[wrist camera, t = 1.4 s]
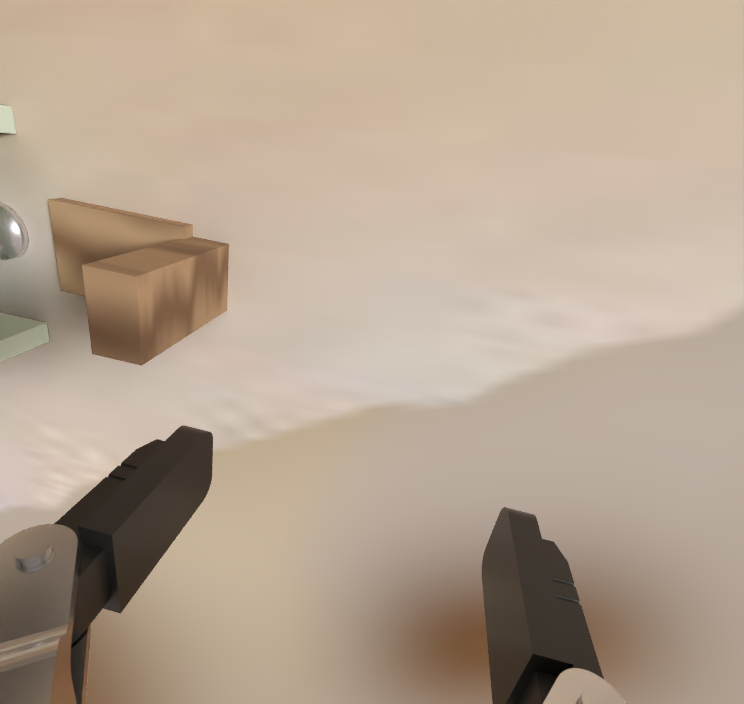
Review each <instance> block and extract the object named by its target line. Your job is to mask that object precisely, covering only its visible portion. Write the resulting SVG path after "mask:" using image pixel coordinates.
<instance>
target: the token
mask: <svg viewBox="0 0 744 704" xmlns="http://www.w3.org/2000/svg"><path fill="white" fill-rule="evenodd" d="M28 243H29V237H28V232H27V229H26V227H25V224H24V223H23V221H22V219H21V218H20V217H19V215H18V214H17V213H16V212H15V211H14V210H13V209H11V208H10V207H9V206H7V205H5V204H3V203H0V259H3V260H6V259H11V258H16V257H19V256H21V255H23V254H24V253H25V252H26V250H27V248H28Z"/></svg>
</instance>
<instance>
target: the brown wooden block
mask: <svg viewBox="0 0 744 704" xmlns="http://www.w3.org/2000/svg"><path fill="white" fill-rule="evenodd" d="M48 203H49V210H50V217H51V224H52V231H53V239H54V246H55V253H56V260H57V267H58V274H59V281H60V288H61V291H65V292H69V293H74V294H78V295H83V296H86V305H87V313H88V322H89V330H90V339H91V348H92V354H95V355H99V356H103V357H108V358H112V359H116V360H121V361H125V362H129V363H133V364H138V365H143V364H145V363H146V362H148V361H149V360H151V359H152V358H154V357H155V356H157V355H158V354H160V353H162V352H163V351H165V350H166V349H168V348H169V347H171V346H172V345H174V344H175V343H177V342H179V341H180V340H182V339H183V338H185V337H186V336H188V335H189V334H191V333H192V332H194V331H196V330H197V329H199V328H200V327H202V326H203V325H205V324H206V323H208V322H209V321H211V320H212V319H214V318H216V317H217V316H219V315H220V314H222V313H223V312H225V311H226V310H227V287H228V250H229V244H225V243H221V242H216V241H211V240H206V239H201V238H196V237H193V225H191V224H186V223H181V222H176V221H171V220H166V219H162V218H157V217H152V216H147V215H142V214H137V213H132V212H127V211H123V210H118V209H113V208H108V207H103V206H98V205H93V204H88V203H83V202H79V201H74V200H69V199H64V198H59V199H48Z"/></svg>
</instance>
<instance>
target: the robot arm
mask: <svg viewBox="0 0 744 704" xmlns="http://www.w3.org/2000/svg"><path fill="white" fill-rule="evenodd" d="M212 456H213V436H212V433H211V432H208V431H204V430H200V429H196V428H192V427H188V426H181V427H179V428H178V429H177V430H176V431H175V432H174V433H173V434H172V435H171V436H170V437H169V438H168V439H167V440H166V441H162V440H158V439H157V440H155V441H153V442H151V443H148V444H146V445H144V446H142V447H140V448H138V449H136V450H135V451H134V452H133V453H132V454H131V455H130V456H129V457H128V458H126V459H125V460H124V461H123V462H122V464H121V466H118V467H116V468H115V469H114V470H113V471H112V472H111V473H110V474H109V476H108V478H107V477H105V478H104V479H103V480H102V481H101V482H100V483H99V484H98V485H97V486H96V487H94V488H93V489H92V490H91V491H90V492H89V493H88V494H87V495H86V496H84V497H83V498H82V499H81V500H80V501H79V502H78V503H77V504H76V505H75V506H73V507H72V508H71V509H70V510H69V511H68V512H67V513H66V514H65V515H64V516H62V517H61V518H60V519H59V520H58V521H57V522H56V523H54V524H46V525H39V526H35V527H31V528H28V529H25V530H23V531H21V532H19V533H16V534H15V535H13V536H11V537H9V538H8V539H6V540H5V541H4V542H2V543H1V544H0V704H86V691H87V678H88V677H87V676H88V664H89V650H90V638H91V623H92V621H93V620H94V619H95V617H96V616H97V615H98V613H99V612H100V611H101V610H102V609H103V608H104V609H108V610H111V611H114V612H118V613H121V612H122V611H123V609H124V608H125V606H126V605H127V604H128V602H129V601H130V600H131V598H132V597H133V596H134V594H135V593H136V591H137V590H138V589H139V587H140V586H141V585H142V583H143V582H144V580H145V579H146V578H147V576H148V575H149V574H150V572H151V571H152V570H153V568H154V567H155V566H156V564H157V563H158V562H159V560H160V559H161V557H162V556H163V555H164V553H165V552H166V551H167V549H168V548H169V547H170V545H171V544H172V542H173V541H174V540H175V538H176V537H177V536H178V534H179V533H180V532H181V530H182V529H183V527H184V526H185V525H186V523H187V522H188V521H189V519H190V518H191V517H192V515H193V514H194V512H195V511H196V510H197V508H198V507H199V506H200V504H201V503H202V502H203V500H204V498H205V497H206V495H207V492H208V490H209V487H210V484H211V480H212ZM482 583H483V594H484V607H485V618H486V630H487V642H488V654H489V665H490V677H491V688H492V700H493V704H626V702H625V701H624V700H623V698H622V697H621V696H620V695H619V693H618V692H617V691H616V690H615V689H614V688H613V687H612V686H611V685H610V684H609V683H608V682H606V681H605V680H604V678H603V676H602V672H601V669H600V666H599V663H598V659H597V656H596V653H595V650H594V646H593V643H592V640H591V636H590V633H589V630H588V627H587V623H586V621H585V617H584V614H583V610H582V607H581V605H579V597H578V594H577V591H576V588H575V587H574V581H573V578H572V574H571V571H570V568H569V564H568V562H567V560H566V559H565V558H564V556H563V554H562V553H561V552H560V550H559V549H558V547H557V546H556V545H555V543H554V542H552V541H548V540H544V539H542V538H541V534H540V530H539V526H538V522H537V519H536V517H535V515H533V514H529V513H525V512H521V511H517V510H514V509H510V508H506V507H504V508H503V509H502V510H501V512H500V514H499V516H498V519H497V521H496V524H495V526H494V529H493V531H492V534H491V536H490V539H489V541H488V544H487V546H486V549H485V552H484V556H483V562H482Z"/></svg>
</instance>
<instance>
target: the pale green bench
mask: <svg viewBox="0 0 744 704" xmlns="http://www.w3.org/2000/svg"><path fill="white" fill-rule="evenodd" d="M0 133H13V134H16V129H15V122H14V116H13V110H12V106H6V105H1V104H0ZM46 342H49V335H48V328H47V323H45V322H41V321H36V320H32V319H28V318H23V317H19V316H15V315H10V314H6V313H2V312H0V362H3V361H5V360H7V359H10V358H12V357H14V356H16V355H19V354H21V353H23V352H26V351H28V350H30V349H32V348H35V347H37V346H39V345H42V344H44V343H46Z"/></svg>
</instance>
